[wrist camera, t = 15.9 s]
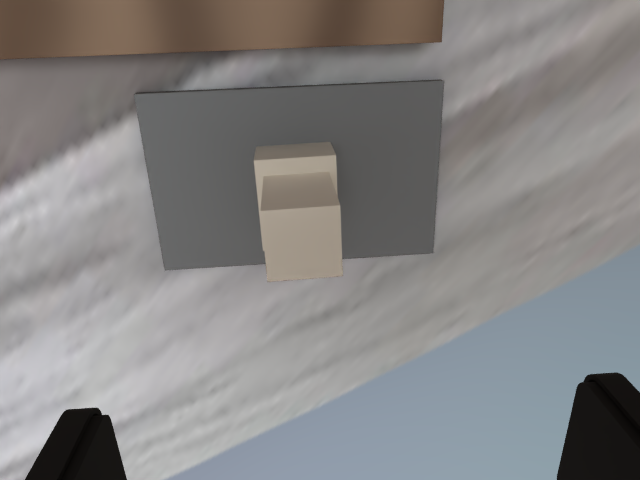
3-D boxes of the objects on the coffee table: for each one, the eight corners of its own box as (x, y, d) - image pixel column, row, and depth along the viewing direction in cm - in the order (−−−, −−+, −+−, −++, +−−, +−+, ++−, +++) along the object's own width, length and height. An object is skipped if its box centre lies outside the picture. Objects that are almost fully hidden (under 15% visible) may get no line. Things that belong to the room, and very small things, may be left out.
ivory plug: (330, 141, 27) (349, 185, 20) (333, 224, 29) (352, 291, 22) (256, 146, 27) (248, 192, 20) (264, 229, 29) (259, 299, 21)
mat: (440, 79, 27) (443, 80, 26) (430, 249, 31) (433, 253, 30) (137, 92, 26) (133, 94, 25) (167, 265, 30) (164, 270, 29)
